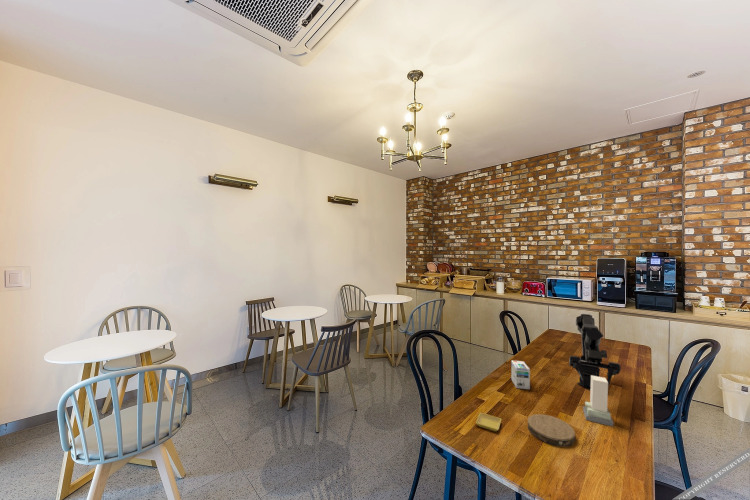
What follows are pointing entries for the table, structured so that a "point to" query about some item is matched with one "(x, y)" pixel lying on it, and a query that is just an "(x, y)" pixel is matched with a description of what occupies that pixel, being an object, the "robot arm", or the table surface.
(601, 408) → the cream pillar
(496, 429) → the yellow flat square tray
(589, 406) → the tower top slab
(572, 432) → the wood slice
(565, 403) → the table surface
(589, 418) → the tower base slab
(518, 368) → the light bulb box
